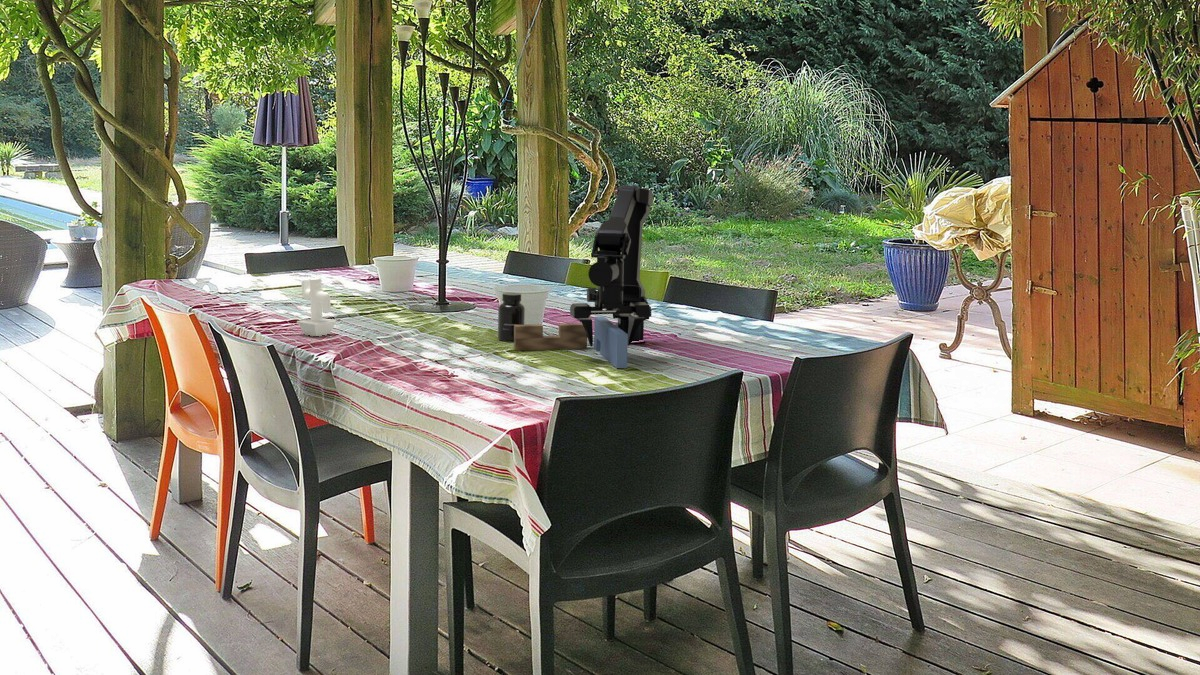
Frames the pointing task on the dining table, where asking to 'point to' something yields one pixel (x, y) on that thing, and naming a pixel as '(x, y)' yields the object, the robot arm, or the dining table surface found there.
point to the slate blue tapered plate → (610, 342)
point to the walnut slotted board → (549, 337)
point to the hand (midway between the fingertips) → (609, 345)
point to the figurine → (316, 308)
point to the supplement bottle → (510, 316)
